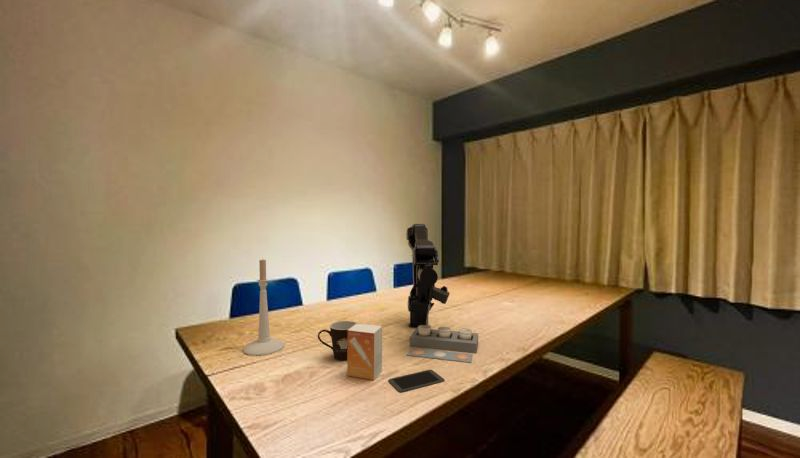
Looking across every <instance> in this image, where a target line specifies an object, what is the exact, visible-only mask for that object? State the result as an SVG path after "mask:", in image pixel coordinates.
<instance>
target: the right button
mask: <svg viewBox="0 0 800 458" xmlns="http://www.w3.org/2000/svg"><path fill="white" fill-rule="evenodd" d="M458 332H459V339H461V340H471V333H473V330H472V329H470V328H465V327H464V328H459V329H458Z"/></svg>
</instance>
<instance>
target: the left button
mask: <svg viewBox="0 0 800 458" xmlns="http://www.w3.org/2000/svg"><path fill="white" fill-rule="evenodd" d="M417 328H418V329H419V335H420V336H430V329H432V326H431V325H429V324H427V325H420V326H418V327H417Z"/></svg>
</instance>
